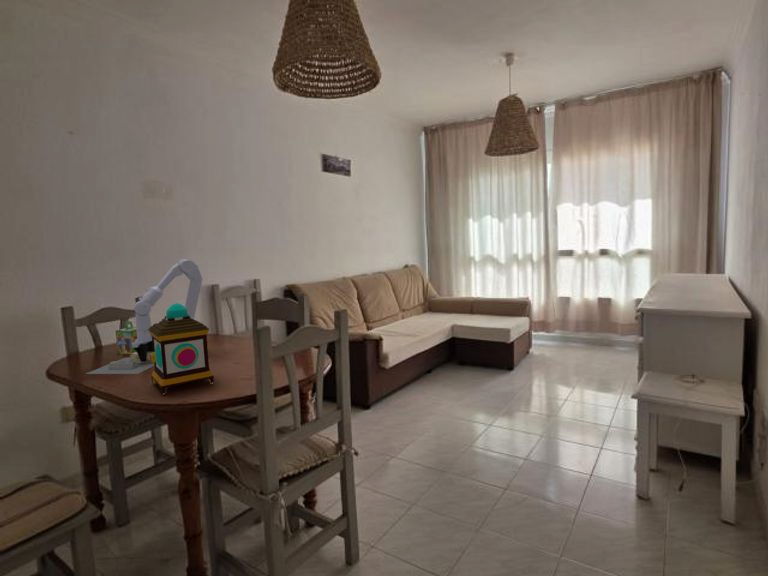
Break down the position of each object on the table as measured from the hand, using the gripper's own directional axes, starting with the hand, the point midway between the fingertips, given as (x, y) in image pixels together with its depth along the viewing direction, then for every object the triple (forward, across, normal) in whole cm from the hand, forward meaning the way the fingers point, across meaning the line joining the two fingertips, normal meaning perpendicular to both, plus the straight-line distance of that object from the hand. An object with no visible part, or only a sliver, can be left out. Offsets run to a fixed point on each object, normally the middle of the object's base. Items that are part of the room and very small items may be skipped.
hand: (146, 359), depth 194 cm
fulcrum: (+1, +10, -4) cm, 10 cm away
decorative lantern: (+2, +28, +32) cm, 43 cm away
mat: (+1, +5, -4) cm, 7 cm away
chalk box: (+2, -18, -19) cm, 26 cm away
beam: (+1, 0, 0) cm, 1 cm away
